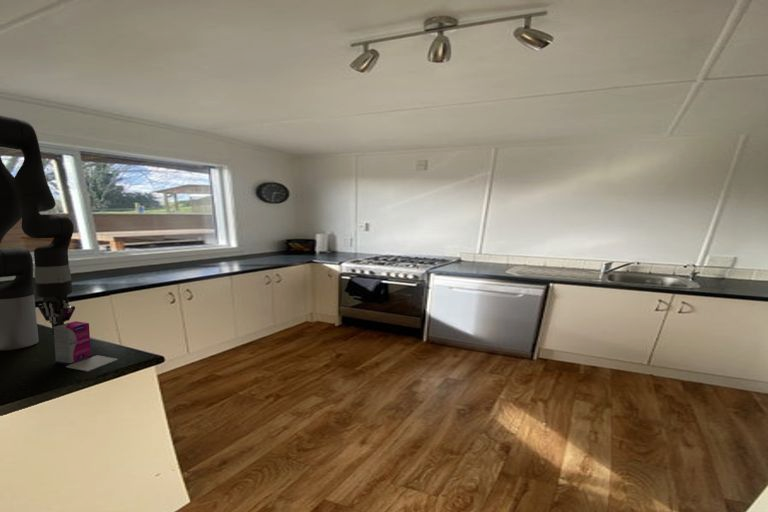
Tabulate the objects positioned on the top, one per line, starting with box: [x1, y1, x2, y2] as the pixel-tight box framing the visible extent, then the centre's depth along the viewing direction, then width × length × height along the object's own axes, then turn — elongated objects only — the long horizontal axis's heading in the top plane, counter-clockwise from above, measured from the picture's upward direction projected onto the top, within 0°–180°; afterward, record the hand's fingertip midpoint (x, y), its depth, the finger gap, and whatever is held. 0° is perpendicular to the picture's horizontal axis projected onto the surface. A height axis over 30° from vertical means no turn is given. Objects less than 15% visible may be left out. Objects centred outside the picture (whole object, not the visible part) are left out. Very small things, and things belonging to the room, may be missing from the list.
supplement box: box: [53, 321, 92, 366], centre depth 95 cm, size 6×6×12 cm
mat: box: [65, 355, 119, 373], centre depth 93 cm, size 9×8×1 cm
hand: (58, 334), depth 96 cm, fingers closed
